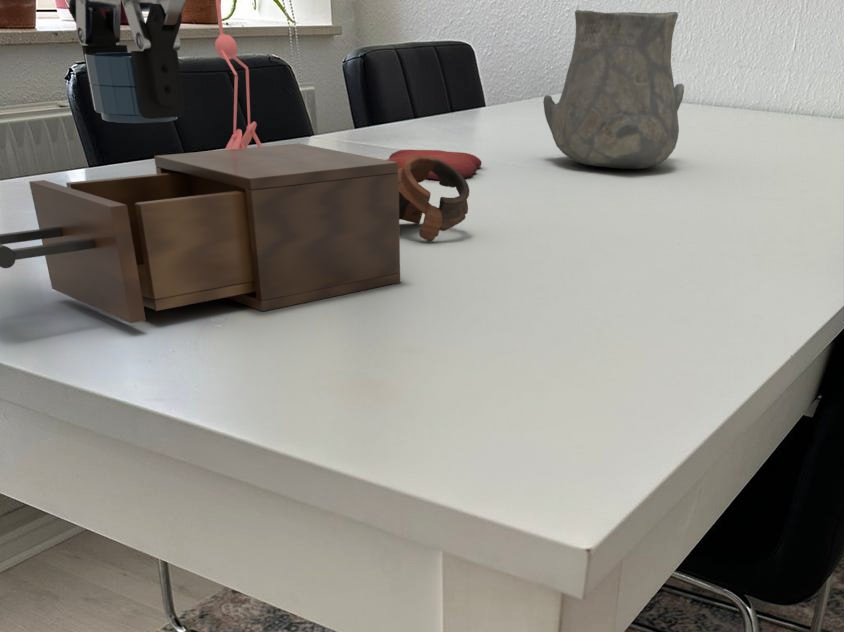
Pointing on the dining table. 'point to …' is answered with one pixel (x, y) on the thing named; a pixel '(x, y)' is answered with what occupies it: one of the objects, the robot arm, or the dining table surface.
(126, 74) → the blue cup
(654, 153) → the vessel
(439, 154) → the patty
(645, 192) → the dining table surface
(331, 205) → the cabinet
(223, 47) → the figurine
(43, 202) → the drawer
